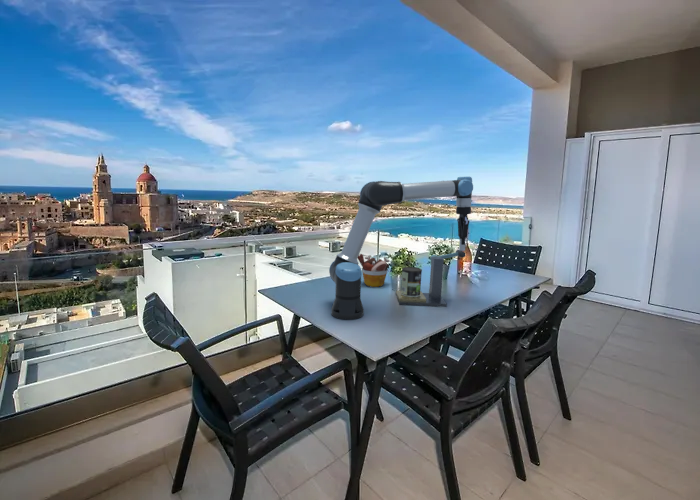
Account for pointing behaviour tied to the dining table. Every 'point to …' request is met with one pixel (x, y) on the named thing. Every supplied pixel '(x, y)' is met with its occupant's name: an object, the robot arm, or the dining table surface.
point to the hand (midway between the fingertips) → (462, 250)
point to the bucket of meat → (374, 270)
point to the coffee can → (411, 281)
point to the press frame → (434, 291)
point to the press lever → (452, 254)
